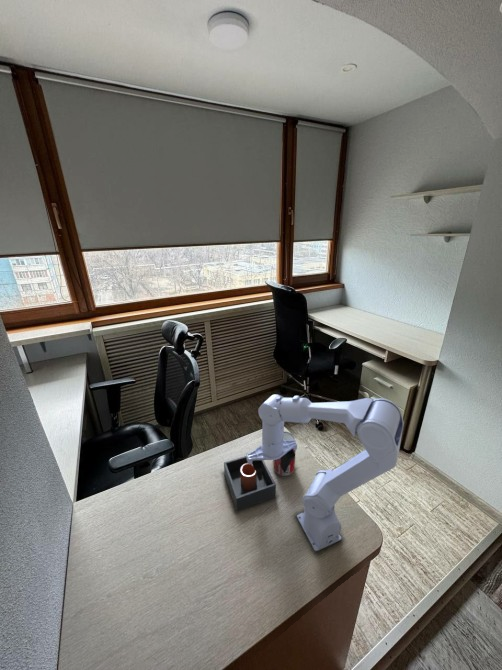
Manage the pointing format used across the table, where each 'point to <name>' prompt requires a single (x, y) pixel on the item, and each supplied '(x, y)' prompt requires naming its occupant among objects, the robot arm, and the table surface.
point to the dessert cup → (248, 477)
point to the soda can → (277, 462)
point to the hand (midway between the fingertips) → (271, 473)
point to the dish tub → (242, 497)
